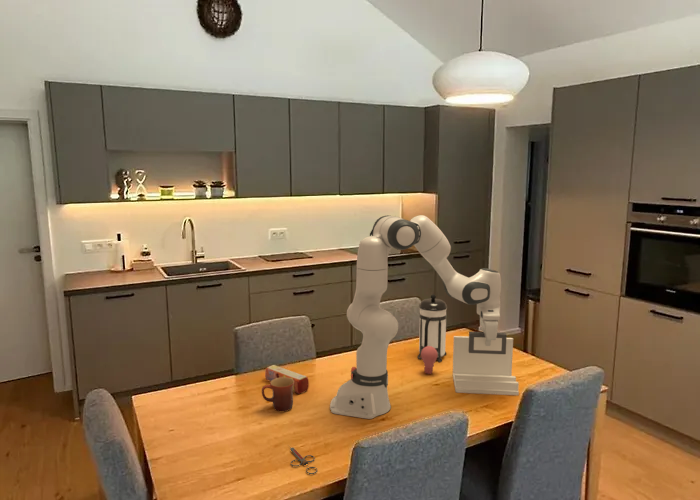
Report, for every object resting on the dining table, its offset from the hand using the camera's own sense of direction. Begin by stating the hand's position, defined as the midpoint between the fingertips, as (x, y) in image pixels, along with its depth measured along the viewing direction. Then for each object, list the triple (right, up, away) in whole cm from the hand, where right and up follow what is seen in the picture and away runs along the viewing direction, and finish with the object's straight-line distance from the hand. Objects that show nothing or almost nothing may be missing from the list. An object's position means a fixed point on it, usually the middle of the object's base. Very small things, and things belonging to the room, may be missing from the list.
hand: (487, 343), depth 201 cm
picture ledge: (+1, -18, +7) cm, 19 cm away
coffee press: (-16, -14, +36) cm, 42 cm away
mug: (-80, -22, -12) cm, 84 cm away
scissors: (-69, -28, -45) cm, 87 cm away
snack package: (-80, -19, +8) cm, 83 cm away
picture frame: (0, -4, +1) cm, 4 cm away
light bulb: (-20, -17, +19) cm, 32 cm away
